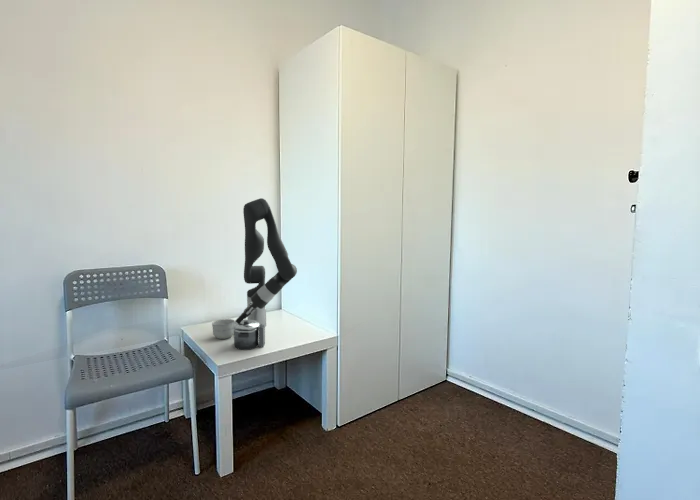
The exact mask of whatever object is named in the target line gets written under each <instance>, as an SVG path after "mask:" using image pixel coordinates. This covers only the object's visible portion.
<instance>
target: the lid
mask: <svg viewBox="0 0 700 500" xmlns="http://www.w3.org/2000/svg"><path fill="white" fill-rule="evenodd" d="M234 321H235V320H234ZM259 324H260V323H259V322H258V321H255V320H248V319H243V320H242V321H241V322H240V323H239V324H238V323H237V322H236V321H235V322H234V323H233V327H234V328H235V329H238V330H254V329H257V328H259Z"/></svg>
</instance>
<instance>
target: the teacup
mask: <svg viewBox="0 0 700 500" xmlns="http://www.w3.org/2000/svg"><path fill="white" fill-rule="evenodd" d="M235 321H236V319H235V320H234V319H231V318H230V319H229V318H223V319H218V320H214V321H213V322H212V323H211V325H212V327H211V328H212V335H213V336H214V337H215V338H217V339H219V340H224V339H229V338H232V336H234V327H233V323H234V322H235Z"/></svg>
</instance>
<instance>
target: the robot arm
mask: <svg viewBox="0 0 700 500" xmlns="http://www.w3.org/2000/svg"><path fill="white" fill-rule="evenodd" d="M242 213H243V222H244V267H243V280H244V282H245V284H257V285H256V286H255V287H252V288H250V289H248V290H247V292H246V301H247V303H246V304H247V305H246V307H245V308H244V310H243V312H241V314H240V315H239V316H238V317H237V318H236V319H235V320H236V322H237V323H238V324H239V323H240V322H241V321H242V320H255V321H258V322H259V323H260V324H259V326H260V325H261V324H265V327H267V308H266V306H267V305H268V304H269V303H270V302H272V300H273V299H274V297H275V296H276V295H277V294H278V293H279V292H280V291H281V290H282V289H283V288H284V287H285V286H286V285H287V284H288V283H289V282H290V281H291V280H292V279H293V278H294V277H295V276H297V273H298V268H297V267H296V265H295V264H294V263H292V262H291V260H290V258H289V253H288V250H287V249H286V246H285V244H284V242H283V241H282V239H281V238H282V237H281V236H280V233H279V230H278V227H277V223H276V221H275V217H274V215H273V212H272V209H271V206H270V205H269V203H268V201H267V200H266V199H265V198H258V199H254V200H251V201H249V202H247V203H245V204H244V205H243V211H242ZM262 220H264V222H265V223H266V226H267V227H266V228H267V230H266V233H267V236H266V245H267V248H268V250H269V253H270V255H271V257H272V258H273V260H274V263H275V266H276V269H277V271H278V272H277V273H276V274H275V275H273V276H271V277H270V278H269V280H267V281H266V268H265V266H264V265H254V263H255V262H256V261H257V260H259V258H260V257H261V256H262V255H263V253H264V251H265V238H264V236H263V234H261V232H259V230H258V229H257V226H256V223H257V222H258V221H262Z"/></svg>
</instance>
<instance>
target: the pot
mask: <svg viewBox="0 0 700 500" xmlns="http://www.w3.org/2000/svg"><path fill="white" fill-rule="evenodd" d="M233 343H234V344H233V346H234V349H236V350H240V351H248V350H249V351H250V350H253V349H256V348H257V347H258V348H264V346H265V344H266V326H265V324H261V325H260V326H259V328H257V329H254V330H238V329H235V328H234V334H233Z"/></svg>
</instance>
